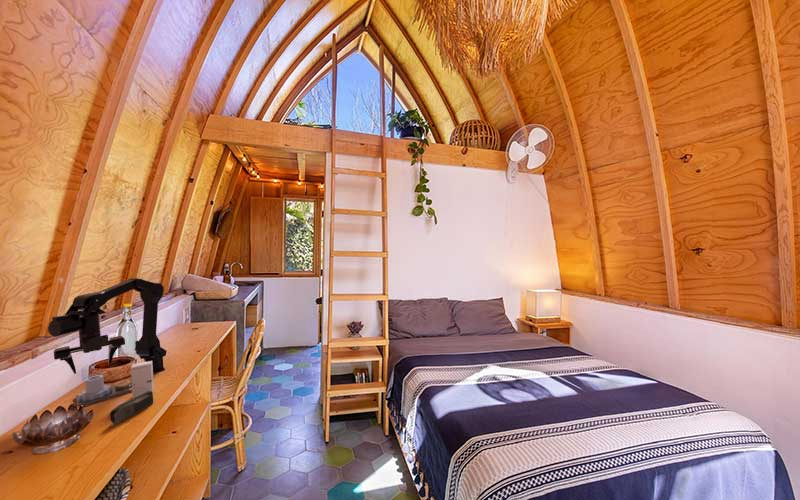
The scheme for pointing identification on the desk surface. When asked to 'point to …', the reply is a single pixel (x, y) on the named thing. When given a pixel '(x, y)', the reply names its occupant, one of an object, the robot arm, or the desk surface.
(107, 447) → the desk surface
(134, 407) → the mobile phone
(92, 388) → the grey stepped block
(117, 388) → the carrier plate
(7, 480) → the desk surface
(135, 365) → the skincare box
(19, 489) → the desk surface
